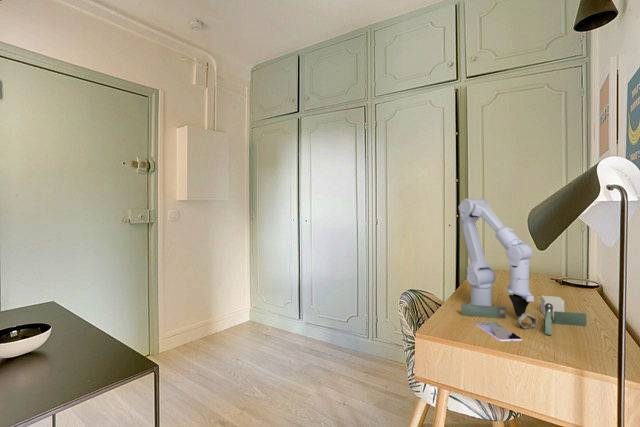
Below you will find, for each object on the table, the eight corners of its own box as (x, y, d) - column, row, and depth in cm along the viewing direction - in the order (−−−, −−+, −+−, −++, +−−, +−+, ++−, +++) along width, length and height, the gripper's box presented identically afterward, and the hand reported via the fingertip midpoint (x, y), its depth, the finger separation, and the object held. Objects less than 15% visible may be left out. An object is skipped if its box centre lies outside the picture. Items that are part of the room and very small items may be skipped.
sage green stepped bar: (546, 322, 111) (545, 309, 111) (551, 323, 110) (551, 310, 110) (545, 333, 101) (545, 319, 101) (551, 335, 100) (551, 320, 100)
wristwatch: (538, 329, 106) (538, 314, 106) (522, 330, 105) (522, 315, 105) (529, 325, 110) (529, 310, 110) (514, 326, 108) (514, 312, 108)
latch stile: (461, 314, 121) (461, 303, 121) (504, 317, 117) (504, 306, 117) (461, 315, 120) (461, 305, 120) (505, 318, 116) (505, 307, 116)
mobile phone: (499, 339, 97) (474, 321, 112) (499, 342, 97) (474, 324, 112) (524, 338, 97) (495, 321, 112) (524, 341, 97) (495, 324, 112)
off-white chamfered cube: (564, 317, 117) (564, 301, 117) (544, 315, 119) (544, 299, 119) (559, 312, 122) (559, 296, 122) (540, 310, 125) (540, 295, 125)
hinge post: (543, 321, 113) (543, 302, 113) (583, 324, 110) (583, 304, 110) (546, 323, 111) (546, 304, 111) (587, 326, 107) (587, 306, 107)
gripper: (498, 273, 121) (498, 309, 121) (517, 282, 107) (518, 323, 107) (518, 273, 120) (518, 309, 121) (540, 282, 106) (540, 323, 106)
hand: (519, 316), depth 114 cm, fingers closed
